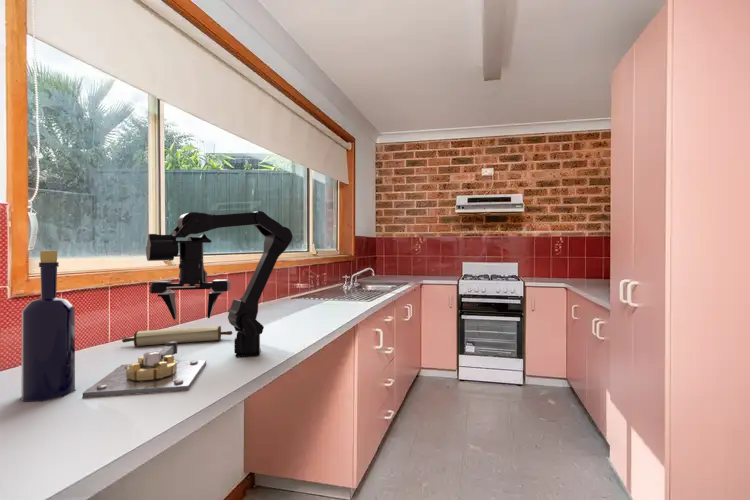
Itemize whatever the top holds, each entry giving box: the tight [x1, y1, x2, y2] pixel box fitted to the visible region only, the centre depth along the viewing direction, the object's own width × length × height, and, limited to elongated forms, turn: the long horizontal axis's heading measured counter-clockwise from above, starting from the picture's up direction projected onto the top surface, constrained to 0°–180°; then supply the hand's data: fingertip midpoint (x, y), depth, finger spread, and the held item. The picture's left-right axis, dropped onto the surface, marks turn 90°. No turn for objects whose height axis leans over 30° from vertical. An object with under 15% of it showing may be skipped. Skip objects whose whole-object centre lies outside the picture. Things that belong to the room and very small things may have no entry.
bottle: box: [20, 250, 77, 403], centre depth 83 cm, size 9×9×30 cm
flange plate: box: [82, 350, 207, 399], centre depth 93 cm, size 20×20×6 cm
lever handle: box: [126, 341, 178, 380], centre depth 99 cm, size 10×22×4 cm, turn 13°
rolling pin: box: [121, 325, 233, 348], centre depth 128 cm, size 32×6×5 cm, turn 109°
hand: (192, 318), depth 105 cm, fingers open, 8 cm apart
